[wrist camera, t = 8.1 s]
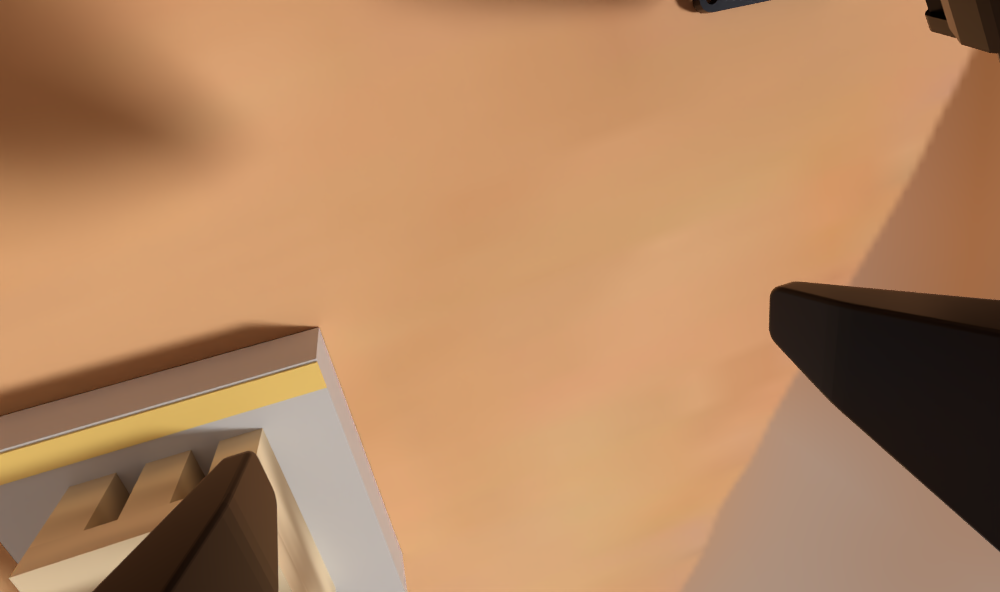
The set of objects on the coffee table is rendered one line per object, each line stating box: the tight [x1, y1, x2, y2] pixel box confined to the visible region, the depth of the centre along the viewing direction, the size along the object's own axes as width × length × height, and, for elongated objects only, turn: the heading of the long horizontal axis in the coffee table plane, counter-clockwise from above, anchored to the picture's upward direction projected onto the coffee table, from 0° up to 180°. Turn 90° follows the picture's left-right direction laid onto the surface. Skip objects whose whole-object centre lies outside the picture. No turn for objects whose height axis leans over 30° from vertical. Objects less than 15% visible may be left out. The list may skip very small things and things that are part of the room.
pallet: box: [9, 428, 336, 592], centre depth 18 cm, size 8×6×4 cm
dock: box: [0, 327, 407, 592], centre depth 20 cm, size 11×12×3 cm
